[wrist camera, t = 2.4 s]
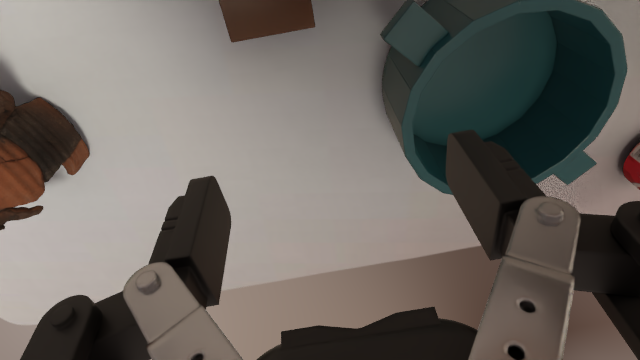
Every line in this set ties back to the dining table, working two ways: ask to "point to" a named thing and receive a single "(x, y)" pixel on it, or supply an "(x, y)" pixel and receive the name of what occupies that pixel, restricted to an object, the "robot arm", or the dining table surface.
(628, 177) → the beverage can
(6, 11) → the dining table surface
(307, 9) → the block
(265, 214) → the dining table surface
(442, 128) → the green cooking pot
